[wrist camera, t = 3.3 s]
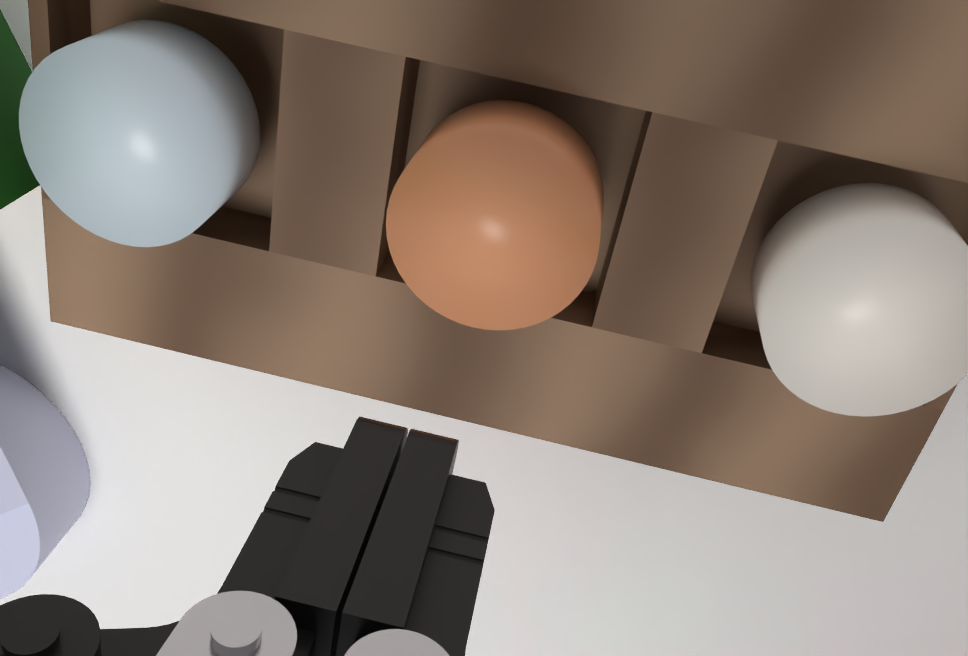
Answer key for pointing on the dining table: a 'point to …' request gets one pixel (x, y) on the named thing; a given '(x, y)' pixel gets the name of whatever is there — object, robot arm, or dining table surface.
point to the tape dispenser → (35, 479)
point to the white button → (864, 300)
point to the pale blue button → (139, 131)
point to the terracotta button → (498, 216)
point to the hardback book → (12, 120)
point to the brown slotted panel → (625, 222)
